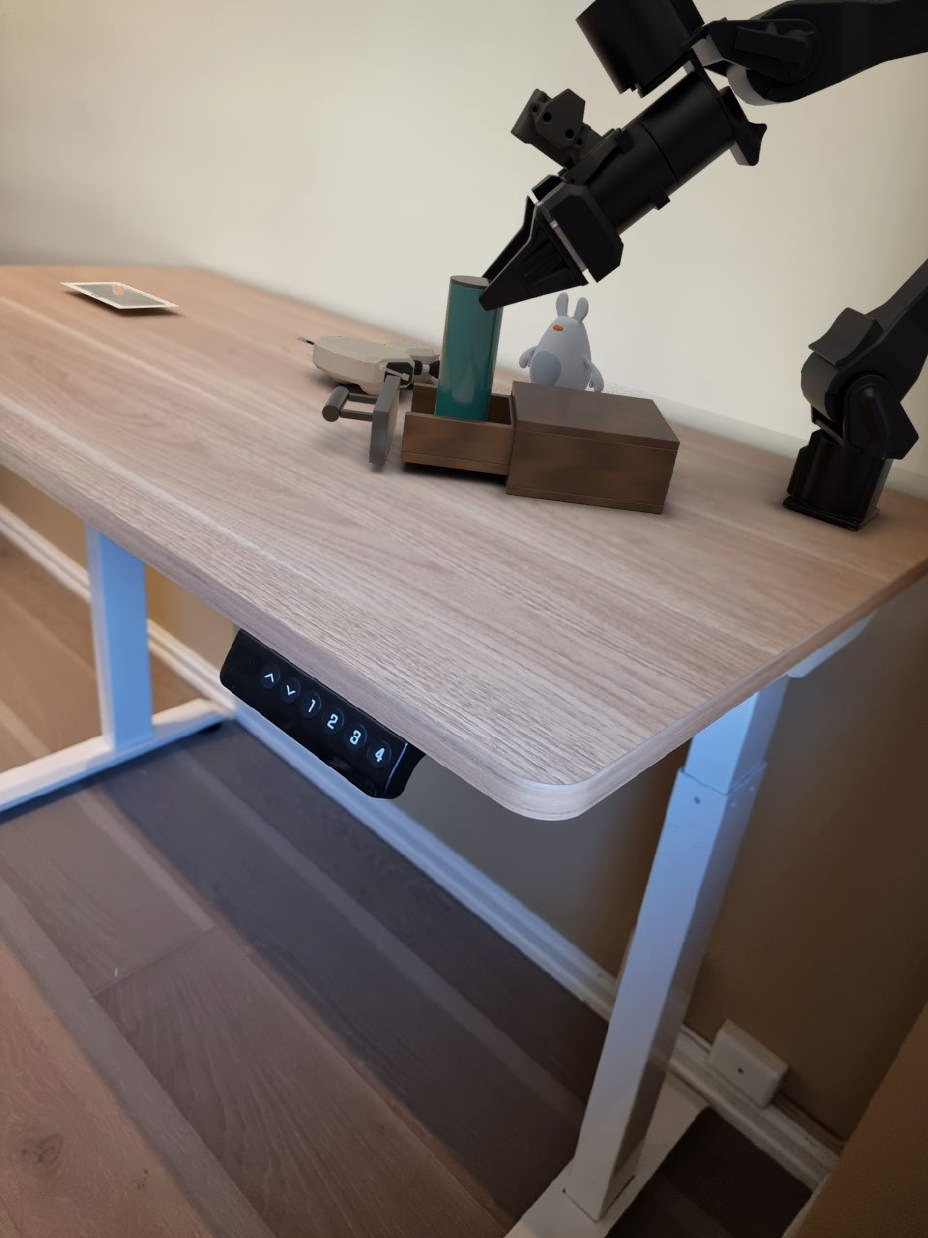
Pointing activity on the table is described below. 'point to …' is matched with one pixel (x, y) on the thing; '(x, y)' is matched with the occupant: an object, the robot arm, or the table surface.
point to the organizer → (590, 448)
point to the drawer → (432, 429)
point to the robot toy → (374, 361)
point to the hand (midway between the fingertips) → (481, 295)
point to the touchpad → (119, 295)
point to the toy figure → (564, 351)
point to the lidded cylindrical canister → (467, 351)
